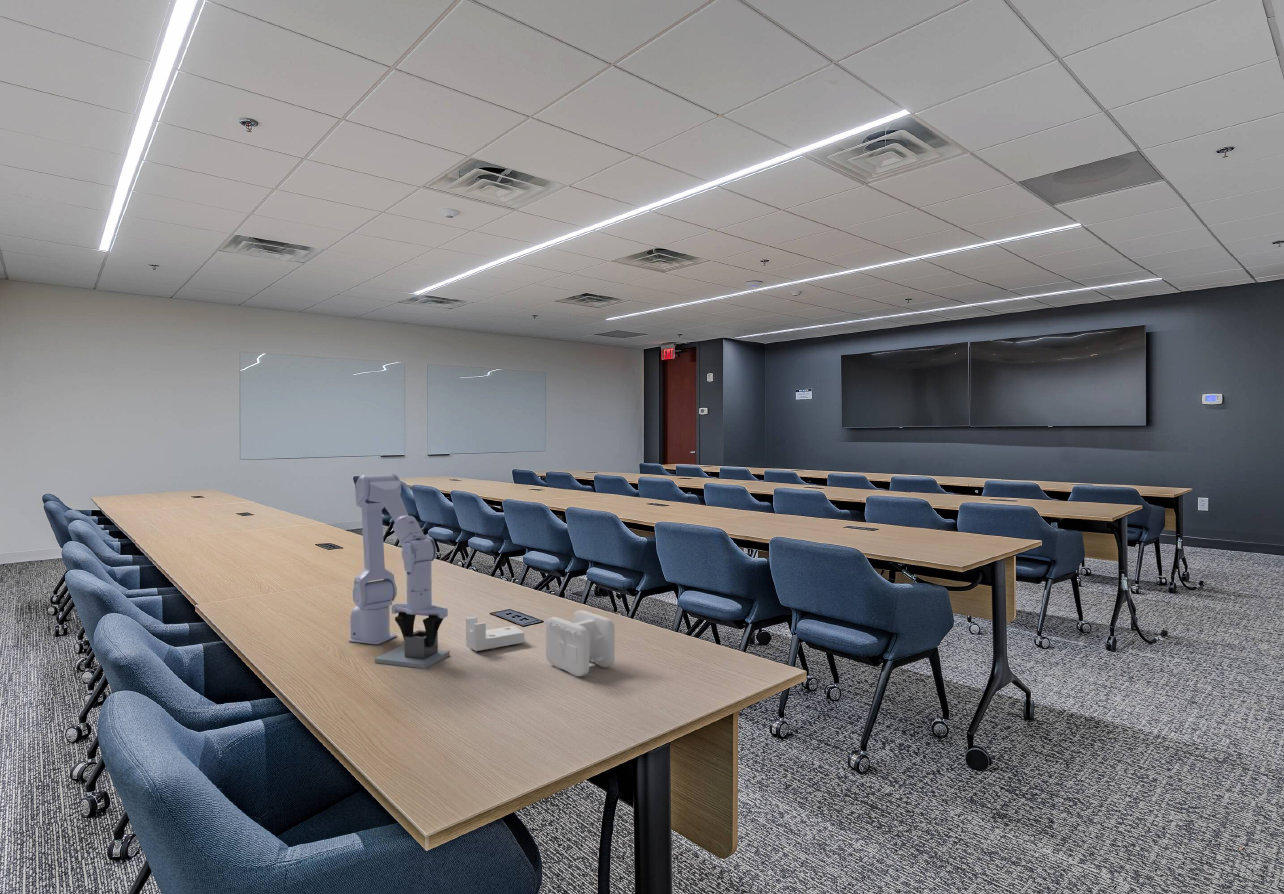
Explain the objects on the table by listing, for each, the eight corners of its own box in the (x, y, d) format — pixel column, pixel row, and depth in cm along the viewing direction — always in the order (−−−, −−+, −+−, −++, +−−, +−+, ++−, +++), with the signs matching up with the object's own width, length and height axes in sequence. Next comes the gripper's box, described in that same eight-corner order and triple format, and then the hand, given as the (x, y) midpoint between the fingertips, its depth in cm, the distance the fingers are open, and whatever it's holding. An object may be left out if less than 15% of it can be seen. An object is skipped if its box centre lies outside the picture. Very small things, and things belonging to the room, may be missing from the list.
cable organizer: (617, 670, 156) (617, 620, 156) (581, 681, 149) (581, 629, 149) (578, 654, 168) (578, 607, 167) (543, 664, 161) (543, 615, 160)
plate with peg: (374, 662, 162) (374, 643, 161) (401, 649, 171) (401, 631, 171) (424, 668, 157) (424, 649, 157) (449, 655, 167) (449, 636, 167)
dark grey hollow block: (404, 657, 162) (404, 636, 162) (418, 650, 168) (418, 630, 167) (424, 659, 161) (424, 638, 161) (437, 652, 166) (437, 632, 166)
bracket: (475, 654, 168) (475, 624, 168) (466, 647, 174) (466, 618, 174) (524, 645, 175) (524, 616, 175) (513, 638, 181) (513, 610, 181)
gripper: (383, 590, 162) (383, 646, 162) (435, 594, 157) (435, 652, 157) (401, 584, 168) (402, 638, 169) (452, 588, 164) (452, 643, 164)
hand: (419, 644), depth 163 cm, fingers closed on dark grey hollow block, 5 cm apart
